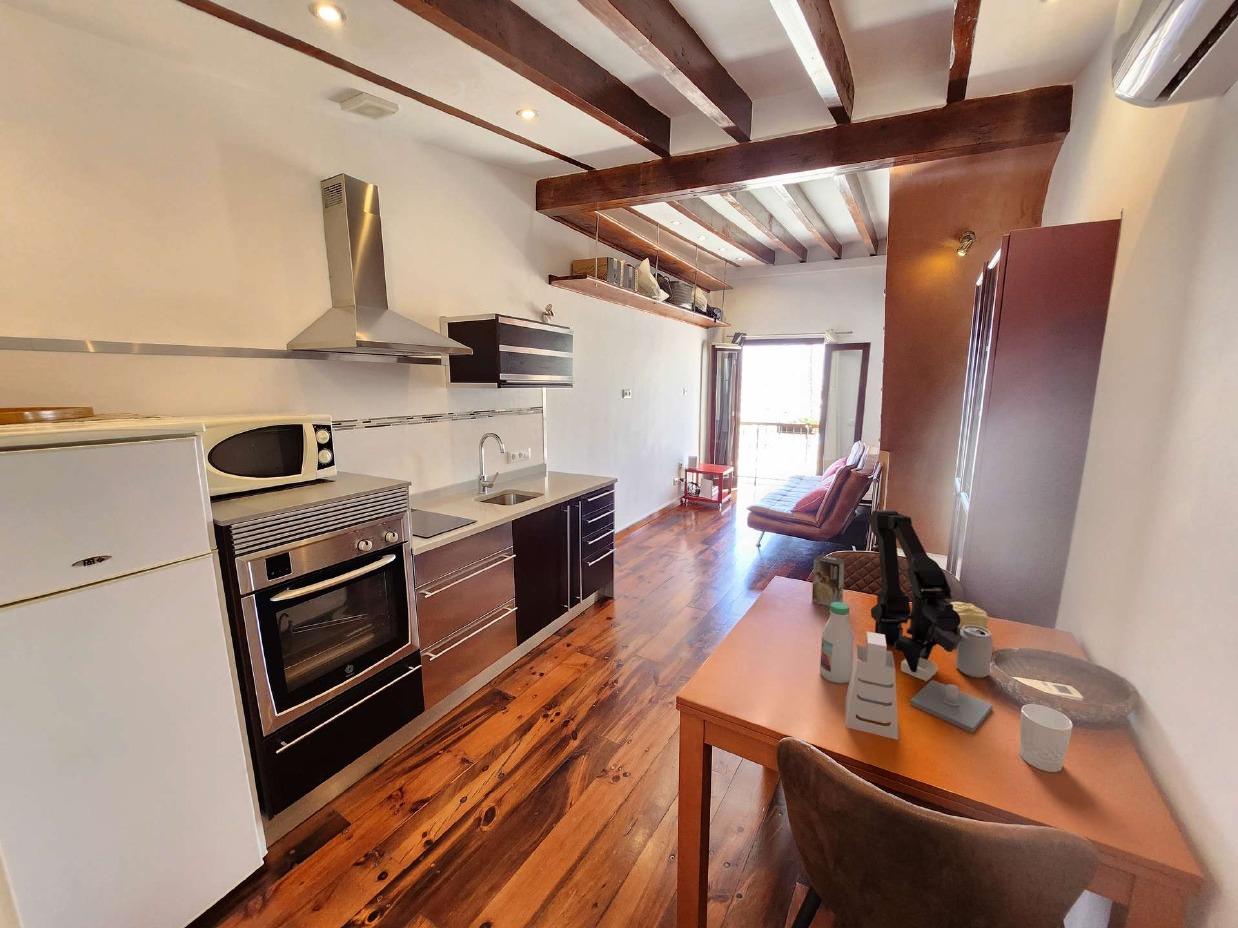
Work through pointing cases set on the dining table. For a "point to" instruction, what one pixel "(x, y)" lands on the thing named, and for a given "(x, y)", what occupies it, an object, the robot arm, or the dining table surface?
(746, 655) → the dining table surface
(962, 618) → the sculpture
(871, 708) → the grater
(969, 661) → the can
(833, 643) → the milk bottle
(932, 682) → the post stand
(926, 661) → the white square frame
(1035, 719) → the white cup
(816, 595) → the coffee box
